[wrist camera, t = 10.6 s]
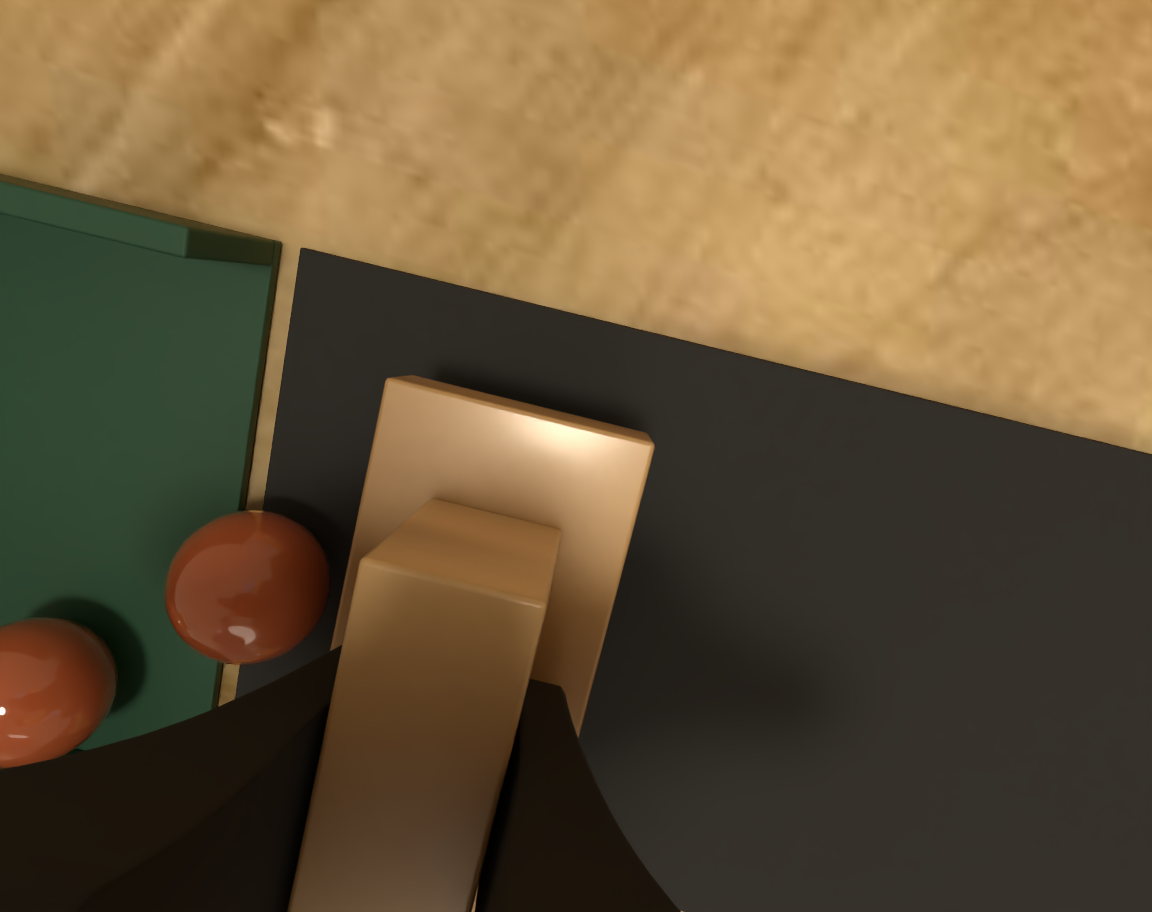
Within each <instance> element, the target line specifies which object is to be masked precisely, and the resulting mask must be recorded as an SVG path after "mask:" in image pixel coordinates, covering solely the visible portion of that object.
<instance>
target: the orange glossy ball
mask: <svg viewBox="0 0 1152 912" xmlns="http://www.w3.org/2000/svg"><path fill="white" fill-rule="evenodd" d="M330 593H331V571H330V566H329V562H328V559H327V556H326V554H325V552H324V550H323V548H322V546H321V545H320V543H319V542H318V540H317V539H316V538H315V537H314V536H313V534H312V533H311V532H310V531H309V530H307V529H306V528H305V527H304V526H303V525H301V524H300V523H298V522H297V521H295V520H293V519H291V518H289V517H287V516H284V515H281V514H278V513H275V512H270V511H263V510H245V511H238V512H233V513H229V514H226V515H222V516H220V517H217V518H215V519H213V520H211V521H209V522H207V523H206V524H204V525H203V526H201V527H199V528H198V529H197V530H196V531H194V532H193V533H192V534H191V535H190V536H189V537H188V538H187V539H186V540H185V541H184V542H183V543H182V544H181V546H180V547H179V549H178V550H177V552H176V553H175V555H174V556H173V558H172V560H171V562H170V565H169V567H168V570H167V573H166V577H165V584H164V602H165V608H166V612H167V616H168V618H169V621H170V623H171V625H172V627H173V628H174V630H175V631H176V633H177V634H178V636H179V637H180V638H181V639H182V640H183V642H184V643H185V644H186V645H188V646H189V647H190V648H191V649H193V650H194V651H195V652H197V653H199V654H200V655H202V656H204V657H207V658H209V659H211V660H214V661H218V662H221V663H226V664H233V665H250V664H258V663H262V662H266V661H270V660H273V659H275V658H278V657H280V656H282V655H284V654H286V653H288V652H290V651H291V650H293V649H294V648H296V647H297V646H298V645H300V644H301V643H302V642H303V641H304V640H305V639H306V638H307V637H308V636H309V635H310V634H311V633H312V632H313V631H314V629H315V628H316V627H317V625H318V624H319V622H320V621H321V619H322V617H323V615H324V613H325V610H326V608H327V605H328V602H329V598H330Z"/></svg>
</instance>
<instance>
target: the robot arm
mask: <svg viewBox="0 0 1152 912" xmlns="http://www.w3.org/2000/svg"><path fill="white" fill-rule="evenodd" d="M341 649H342V645H340V646H339V647H337V648H335V649H333V650H331V651H329V652H328V653H326V654H324V655H322V656H320V657H319V658H317V659H315V660H313V661H311V662H309V663H308V664H306V665H304V666H302V667H300V668H298V669H296V670H294V671H293V672H291V673H289V674H287V675H285V676H283V677H281V678H279V679H277V680H275V681H273V682H271V683H269V684H267V685H265V686H263V687H261V688H258V689H256V690H254V691H252V692H250V693H248V694H245V695H243V696H241V697H239V698H237V699H235V700H232V701H230V702H228V703H226V704H224V705H221V706H219V707H217V708H214V709H212V710H210V711H207V712H205V713H202V714H200V715H197V716H194V717H192V718H189V719H187V720H184V721H181V722H178V723H175V724H172V725H170V726H167V727H164V728H161V729H158V730H155V731H152V732H149V733H146V734H143V735H140V736H137V737H133V738H129V739H126V740H122V741H118V742H115V743H111V744H108V745H104V746H100V747H97V748H93V749H89V750H86V751H82V752H79V753H75V754H71V755H67V756H63V757H59V758H54V759H50V760H45V761H40V762H36V763H31V764H26V765H22V766H16V767H11V768H6V769H0V912H287V910H288V905H289V900H290V895H291V890H292V886H293V881H294V876H295V871H296V866H297V861H298V857H299V852H300V847H301V842H302V837H303V833H304V828H305V823H306V818H307V813H308V808H309V804H310V799H311V794H312V789H313V784H314V779H315V775H316V770H317V765H318V760H319V755H320V751H321V746H322V741H323V736H324V731H325V726H326V722H327V717H328V712H329V707H330V702H331V697H332V693H333V688H334V683H335V678H336V673H337V668H338V664H339V659H340V654H341ZM475 912H681V911H680V910H679V909H678V908H677V907H676V906H675V904H674V903H673V902H672V901H671V899H670V898H669V897H668V896H667V894H666V893H665V892H664V890H663V889H662V888H661V887H660V885H659V884H658V883H657V881H656V880H655V879H654V878H653V876H652V875H651V874H650V873H649V871H648V870H647V868H646V867H645V866H644V864H643V863H642V861H641V860H640V859H639V857H638V856H637V854H636V853H635V851H634V850H633V848H632V847H631V845H630V843H629V842H628V840H627V839H626V837H625V835H624V834H623V832H622V830H621V829H620V827H619V825H618V823H617V822H616V820H615V818H614V816H613V814H612V812H611V811H610V809H609V807H608V805H607V803H606V801H605V799H604V797H603V795H602V793H601V791H600V789H599V787H598V785H597V782H596V780H595V778H594V776H593V774H592V771H591V769H590V767H589V764H588V762H587V759H586V757H585V754H584V752H583V750H582V747H581V744H580V742H579V739H578V736H577V733H576V730H575V728H574V725H573V722H572V718H571V715H570V711H569V708H568V704H567V700H566V694H565V692H564V691H563V689H562V687H561V686H558V685H554V684H550V683H546V682H542V681H538V680H534V679H529V683H528V687H527V691H526V695H525V699H524V703H523V707H522V711H521V715H520V719H519V723H518V727H517V731H516V735H515V739H514V743H513V747H512V751H511V755H510V759H509V763H508V767H507V771H506V775H505V779H504V783H503V787H502V791H501V795H500V800H499V804H498V808H497V812H496V816H495V820H494V824H493V828H492V832H491V836H490V840H489V844H488V848H487V852H486V856H485V860H484V864H483V868H482V872H481V876H480V880H479V884H478V890H477V898H476V906H475Z"/></svg>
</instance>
